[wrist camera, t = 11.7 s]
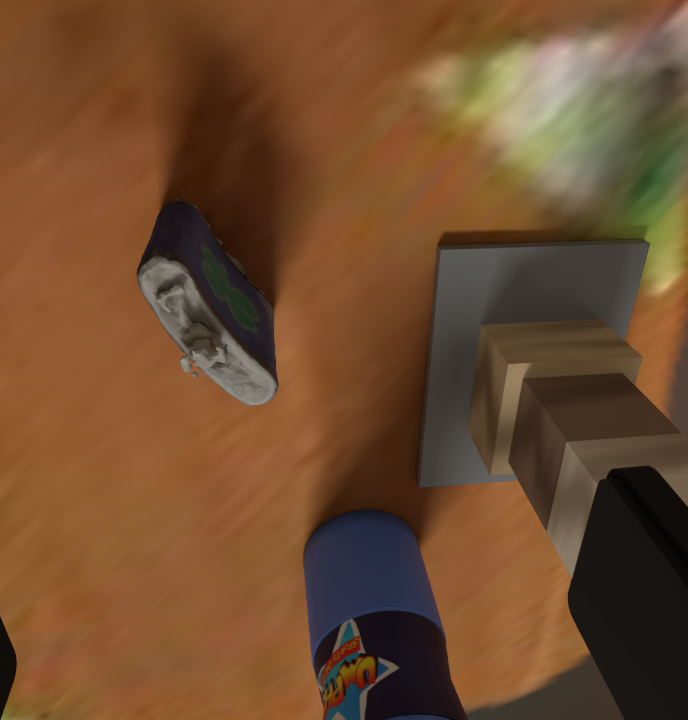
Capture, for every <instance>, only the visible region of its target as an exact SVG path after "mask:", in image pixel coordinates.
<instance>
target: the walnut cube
mask: <svg viewBox="0 0 688 720" xmlns="http://www.w3.org/2000/svg"><path fill="white" fill-rule="evenodd" d="M680 433H681V432H680V431H679V430H678V428H676V426H675V425H674V424H673V423H672V422H671V421H670V420H669V419H668V418H667V417H666V416H665V415H664V414H663V413H662V412H661V411H660V410H659V409H658V408H657V407H656V406H655V405H654V404H653V403H652V402H651V401H650V400H649V399H648V398H647V397H646V396H645V395H644V394H643V393H642V392H641V391H640V390H639V389H638V388H637V387H636V386H635V385H634V384H633V383H632V382H631V381H630V380H629V379H628V378H627V377H626V376H625V375H624V374H623V373H612V374H594V375H576V376H558V377H540V378H523V380H522V385H521V391H520V397H519V403H518V408H517V414H516V420H515V425H514V431H513V437H512V442H511V448H510V454H509V459H508V463H509V465H510V466H511V468H512V470H513V472H514V474H515V475H516V477H517V479H518V481H519V483H520V484H521V486H522V488H523V490H524V492H525V494H526V495H527V497H528V499H529V501H530V503H531V504H532V506H533V508H534V510H535V512H536V514H537V515H538V517H539V519H540V521H541V523H542V524H543V526H544V528H545V530H546V532H547V528H548V523H549V519H550V514H551V510H552V505H553V501H554V496H555V492H556V487H557V483H558V478H559V474H560V469H561V465H562V460H563V456H564V451H565V447H566V442H571V441H585V440H599V439H612V438H626V437H640V436H653V435H667V434H680Z"/></svg>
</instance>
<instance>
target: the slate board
mask: <svg viewBox="0 0 688 720" xmlns="http://www.w3.org/2000/svg"><path fill="white" fill-rule="evenodd" d="M649 245H650V243H649V242H647V241H645V240H644V239H629V240H597V241H564V242H532V243H499V244H467V245H437V257H436V268H435V279H434V291H433V302H432V314H431V325H430V336H429V348H428V359H427V371H426V382H425V393H424V405H423V416H422V428H421V439H420V450H419V462H418V473H417V482H418V485H419V488H422V487H436V486H449V485H463V484H476V483H489V482H503V481H516V480H518V479H517V477H516V475H515V474H507V475H493V476H490V474H489V472H488V470H487V468H486V466H485V464H484V462H483V460H482V458H481V456H480V454H479V452H478V450H477V448H476V446H475V444H474V442H473V440H472V438H471V436H470V434H469V432H468V430H467V424H468V417H469V409H470V402H471V394H472V386H473V379H474V371H475V363H476V356H477V348H478V341H479V333H480V325H485V324H506V323H528V322H550V321H572V320H594V319H602V320H603V321H604V322H605V323H606V324H607V325H608V326H609V327H610V328H611V329H613V330H614V331H615V332H616V333H617V334H618V335H619V336H620V337H621V338H622V339H624V340H625V337H626V334H627V330H628V326H629V322H630V318H631V314H632V311H633V307H634V303H635V299H636V295H637V291H638V287H639V284H640V280H641V276H642V272H643V268H644V264H645V261H646V257H647V253H648V249H649Z"/></svg>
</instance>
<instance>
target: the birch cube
mask: <svg viewBox="0 0 688 720" xmlns="http://www.w3.org/2000/svg"><path fill="white" fill-rule="evenodd" d="M636 466H651V467H653V468H655V469H656V470H657V471H658V472H659V473H660V474H661V476H662V477H663V478H664V479H665V480H666V481H667V483H668V484H669V485H670V486H671V487H672V489H673V490H674V491H675V492H676V493H677V494H678V496H679V497H680V498H681V499H682V500H683V502H684V503H685V504H686V505H687V506H688V439H687V438H686V437H685V436H684V435H683V434H682V433H680V434H667V435H653V436H640V437H626V438H612V439H599V440H585V441H571V442H566V447H565V451H564V456H563V460H562V465H561V469H560V474H559V478H558V483H557V487H556V492H555V496H554V501H553V505H552V510H551V514H550V519H549V523H548V528H547V532H546V533H547V535H548V536H549V538H550V540H551V542H552V544H553V545H554V547H555V549H556V551H557V553H558V555H559V556H560V558H561V560H562V562H563V564H564V565H565V567H566V569H567V571H568V573H569V575H570V576H571V578H572V577H573V573H574V569H575V565H576V562H577V558H578V554H579V551H580V547H581V543H582V540H583V536H584V532H585V529H586V525H587V521H588V518H589V514H590V510H591V506H592V503H593V499H594V495H595V492H596V488H597V485H598V482H599V481H600V480H601V479H606V477H607V475H608V472H609V471H610V470H611V469H615V468H625V467H636Z"/></svg>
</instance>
